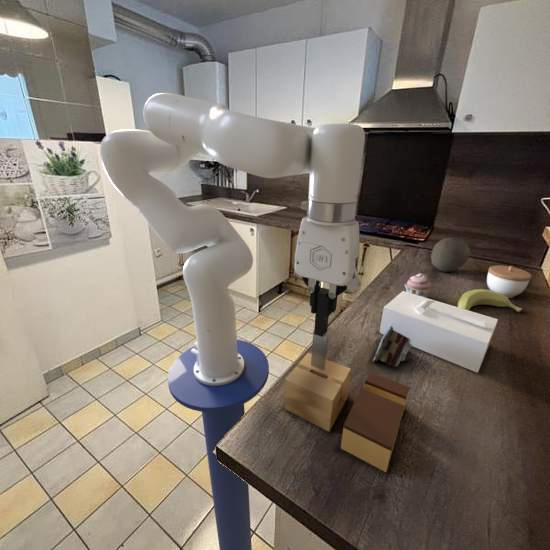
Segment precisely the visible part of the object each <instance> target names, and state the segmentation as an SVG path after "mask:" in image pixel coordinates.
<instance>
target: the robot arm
mask: <svg viewBox="0 0 550 550" xmlns="http://www.w3.org/2000/svg"><path fill="white" fill-rule="evenodd" d="M142 115H143V121H144V124H145V126H146V127H147V130H145V129H134V128H133V129H131V128H130V129H129V128H126V129H119V130H118V129H117V130H114V131H111V132H109V133H108V134H106V135H105V136H104V137H103V138H102V140H101V142H100V147H99V150H100V151H99V153H100V159H101V163H102V166H103V170H104V173H105V174H106V175H107V177H108V180H109V181H110V182H111V184H112V185H113V187H114V188H115V189H116V190H117V192H119V194H121V195H122V197H124V198H125V200H127V201H128V202H129V203H130V204H131V205H132V206H133V208H135V209H136V210H137V211H138V213H139V214H140V215H141V216H142V218H143V219H144V221H146V223H147V224H148V225H149V227H150V228H151V229H152V231H153V232H154V233H155V234H156V236H157V237H158V238H159V240H161V242H162V243H163V244H164V245H165V246H166V248H168V250H169V251H170V252H172V253H175V254H181V255H182V254H186V253H190V252H192V251H195V250H197V249H199V248H203V247H204V249H200V250H199V251H196V252H195V253H193V254H191V255H190V256H189V257H188V259H187V260H186V261H185V263H184V265H183V269H182V276H183V279H184V284H185V285H186V288H187V291H188V295H189V299H190V302H191V308H192V309H191V310H192V316H193V323H194V324H193V325H194V332H195V339H196V341H195V342H194V344H193V347H194V348H196V349H198V350H196V349H194V348H193V349H191V353H192V354H194V355H196V357H197V361H196V363H195V365H194V375H195V377H196V379H197V380H198V381H199V382H201V383H203V384H206V385H210V386H220V385H225V384H228V383H231V382H233V381H234V380H236V379H237V378H238V377H240V375H241V374H242V373H243V371H244V359H243V357H242V356H241V355H240V354H239V353H238V351H237V340H238V337H237V334H238V333H237V318H236V306H235V301H234V299H233V298H232V296H231V295H230V293H229V290H228V287H229V286H230V285H232V284H233V283H235V282H236V281H237V280H239V279H241V278H242V277H244V276H245V275H247V274H248V273H249V272H250V271H251V269H252V267H253V265H254V263H253V262H254V257H253V253H252V251H251V249H250V248H249V245H248V244H247V243H246V241H245V240H244V238H243V237H242V236H241V235H240V234H239V233H238V231H237V230H236V229H235V227H234V226H233V225H232V223H231V222H230V221H229V220H228V219H227V217H226V216H225V215H224V213H222V212H221V211H220V210H219V209H217V208H216V207H214V206H212V205H209V204H195V205H192V206H189V205H185V204H184V203H183V202H182V200H180V199H179V197H177V195H176V194H175V192H174V191H173V190H172V189H171V188H170V187H169V186H168V185H166V184H165V183H164V182H162V181H161V180H159V179H158V178H156V177H154V176H152V175H151V174H153V173H166V172H167V173H168V172H174V171H177V170H180V169H181V168H183V167H184V166H186V165H187V163H189V162H190V161H191V160H193V158H194V157H196V156H197V155H198V154H199V153H200V154H203V155H206V156H210V157H211V158H212V159H213V160H215V161H216V162H218V163H219V164H221V165H223V166H225V167H228V168H230V169H233V170H235V171H236V170H237V171H240V172H243V173H246V174H250V175H253V176H256V177H261V178H264V179H265V178H266V179H278V178H284V177H294V176H299V175H306V174H309V181H308V182H309V183H308V198H307V200H302V201H301V203H300V208H301V210H305V211H306V216H305V217H302V219H301V222H300V226H299V230H298V235H297V239H296V247H295V255H294V270H293V274H294V275H295V276H296V277H298V278H299V279H301V280H302V281H303V282H304V284H305V285H306V287H307V292H308V293H309V294H310V296H309V306H310V313H311V314H316V301H317V292H318V291H319V290H320V289H321V288H322V287H321V286H322V285H321V284H322V283H325V284H329V286H328V289H329V293H328V296H327V297H326V298H325V305H324V317H326V318H328V317H330V316H331V315H332V314H334V313H335V312H336V310H337V306H338V297H339V296H340V295H342V294H343V293H345V292H351V291H357V290H359V289H360V288H361V286H362V285H361V281H360V277H359V274H358V273H359V272H358V271H359V265H360V252H361V251H360V249H361V247H360V246H361V244H360V243H361V242H360V241H361V240H360V224H359V221H358V220H356V215H357V208H358V207H357V206H358V199H359V191H360V183H361V181H360V180H361V173H362V168H363V167H362V165H363V158H364V151H365V150H364V148H365V141H366V133H365V130H364V127H362V126H361V125H360V124H354V123H324V124H321V125H318V126H316V127H312V126H305V125H300V124H295V123H291V122H285V121H280V120H273V119H269V118H265V117H264V118H263V117H259V116H253V115H250V114H245V113H242V112H238V111H237V112H236V111H233V110H230V109H229V108H228V107H227V105H225V104H222V103H218V102H213V101H209V100H204V99H199V98H194V97H190V96H186V95H183V94H179V93H178V94H177V93H173V92H159V93H155V94H153V95H152V96H150V97H149V98H148V99H147V100H146V102H145V104H144V106H143V109H142ZM328 319H329V318H328Z"/></svg>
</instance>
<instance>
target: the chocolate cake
mask: <svg viewBox="0 0 550 550" xmlns="http://www.w3.org/2000/svg"><path fill="white" fill-rule="evenodd" d="M410 341H411V340H410V339H409V338H407V337H405V336H404V335H402V334H400V333H398V332H396V331H394V330H393V327H392V324H391V326H390V327H389V328H388V330H387V331H386V333H385V334H383V335H382V337H381V340H380V342H379V345H378V347H377V350H376V352H375V355H374V357H373V359H372V362H378V361H379V360H380V361H381V362H383V363H385V364H386V365H389V366H390V367H393V368H396V367H398V366H399V364H400V362H403V363H404V362H406V361H407V359H406V358H407V354H408V352H409V351H410V349H411V347H413V346H412V345H411V344H410Z"/></svg>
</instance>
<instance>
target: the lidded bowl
mask: <svg viewBox="0 0 550 550" xmlns="http://www.w3.org/2000/svg"><path fill="white" fill-rule="evenodd" d="M487 271H488V272H487V275H486V285H487V287H488V290H491V291H495V292H499V293H501V294H503V295H505V296H506V297H507V298H508V299H512V298H514V297H516V296H519V295H520V294H522V293H523V292H524V291H525V290H526V289H527V287H528V285H529V282H530V281H531V279H532V277H533V276H532V274H531V273H530V272H529V271H527V270H524V269H521V268H518V267H514V266H513V265H509V266H508V265H492V266H490V267H488V270H487Z"/></svg>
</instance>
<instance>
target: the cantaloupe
mask: <svg viewBox="0 0 550 550" xmlns="http://www.w3.org/2000/svg"><path fill="white" fill-rule="evenodd" d="M470 256H471V249H470V247H469V244H467V243H466V242H465V241H464V240H463V239H460V238H457V237H453V236H452V237H445V238H442V239H440V240H439V241H438V242H437V243H435V244H434V246H433V248H432V251H431V254H430V259H431V263H432V266H433V267H435V268H436V269H437V270H439V271H440V272H443V273H445V272H446V273H449V272H454V271H457V270H458V269H460V268H462V267H463V266H464V265H465V264H467V261H469V258H470Z"/></svg>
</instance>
